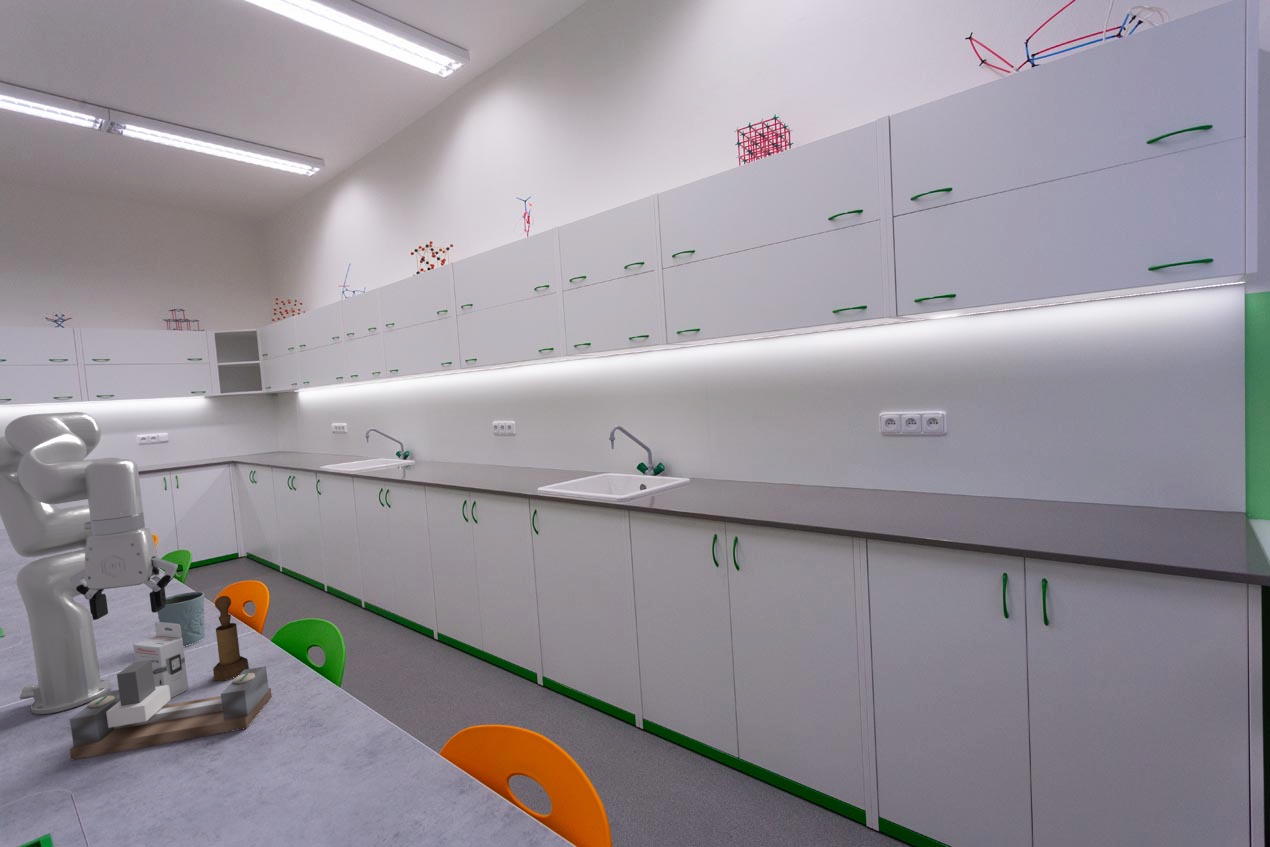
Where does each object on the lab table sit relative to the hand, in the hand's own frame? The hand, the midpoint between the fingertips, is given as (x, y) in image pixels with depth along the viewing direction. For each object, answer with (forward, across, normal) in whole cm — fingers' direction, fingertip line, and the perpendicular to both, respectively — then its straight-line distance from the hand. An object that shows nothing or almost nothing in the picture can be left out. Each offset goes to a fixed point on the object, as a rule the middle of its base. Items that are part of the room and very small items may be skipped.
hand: (129, 613), depth 112 cm
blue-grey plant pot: (+23, -15, +46) cm, 54 cm away
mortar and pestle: (+23, +7, +20) cm, 31 cm away
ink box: (+23, -4, +14) cm, 27 cm away
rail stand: (+22, +7, -2) cm, 24 cm away
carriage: (+19, +1, -2) cm, 19 cm away
